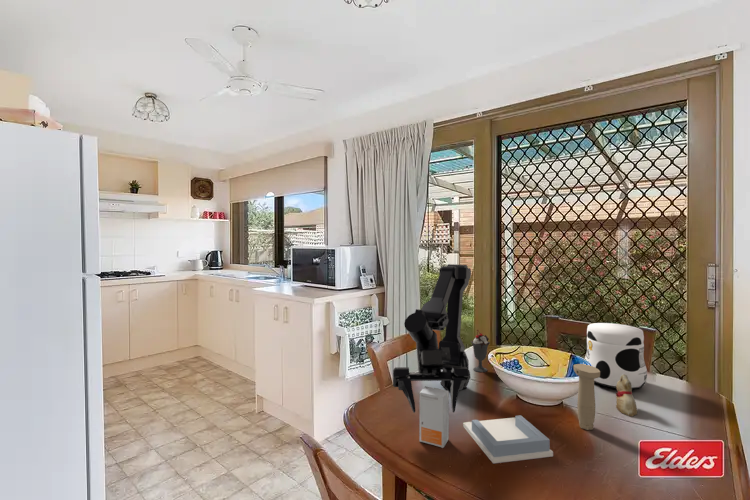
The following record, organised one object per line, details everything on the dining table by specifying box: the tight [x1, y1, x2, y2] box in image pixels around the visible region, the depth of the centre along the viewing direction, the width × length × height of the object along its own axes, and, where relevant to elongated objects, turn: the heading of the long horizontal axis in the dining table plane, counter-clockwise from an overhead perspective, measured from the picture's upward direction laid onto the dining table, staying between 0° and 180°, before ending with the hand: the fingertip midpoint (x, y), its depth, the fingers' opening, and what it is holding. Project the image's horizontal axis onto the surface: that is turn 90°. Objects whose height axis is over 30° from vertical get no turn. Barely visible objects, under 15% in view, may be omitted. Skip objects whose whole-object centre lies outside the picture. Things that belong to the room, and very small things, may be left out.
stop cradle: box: [462, 414, 554, 464], centre depth 89 cm, size 16×14×4 cm
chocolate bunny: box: [615, 375, 638, 417], centre depth 104 cm, size 6×8×10 cm
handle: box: [573, 363, 600, 431], centre depth 94 cm, size 5×6×15 cm
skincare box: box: [418, 386, 450, 449], centre depth 89 cm, size 6×4×12 cm
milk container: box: [584, 322, 648, 390], centre depth 122 cm, size 17×17×18 cm
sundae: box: [470, 329, 491, 373], centre depth 136 cm, size 7×7×15 cm
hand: (434, 412), depth 88 cm, fingers open, 9 cm apart
